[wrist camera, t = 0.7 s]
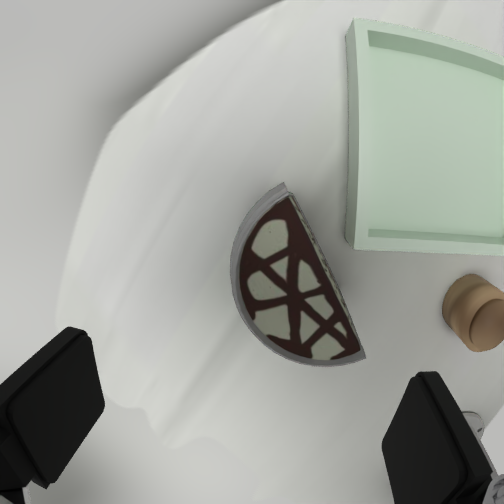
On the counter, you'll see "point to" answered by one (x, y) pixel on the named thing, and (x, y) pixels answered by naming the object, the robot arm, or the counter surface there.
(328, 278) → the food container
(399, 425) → the robot arm
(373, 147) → the bin
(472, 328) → the salt cellar
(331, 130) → the counter surface
